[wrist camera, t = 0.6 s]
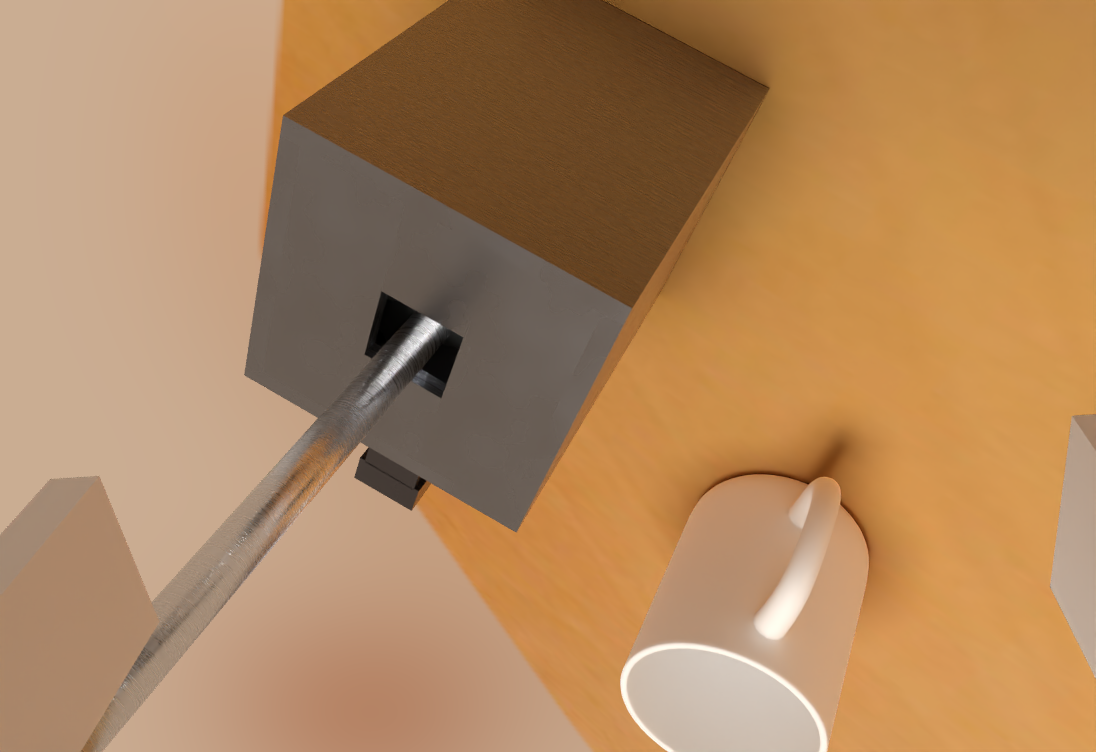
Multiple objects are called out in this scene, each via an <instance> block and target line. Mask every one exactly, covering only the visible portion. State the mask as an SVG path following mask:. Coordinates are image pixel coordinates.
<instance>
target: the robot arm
mask: <svg viewBox="0 0 1096 752" xmlns="http://www.w3.org/2000/svg"><path fill="white" fill-rule="evenodd" d="M1050 588H1051V590H1052V592H1053V594H1054V596H1055V598H1056V600H1057V602H1058V604H1059V606H1060V608H1061V610H1062V612H1063V614H1064V616H1065V618H1066V620H1067V622H1068V624H1069V626H1070V628H1071V630H1072V632H1073V634H1074V636H1075V638H1076V640H1077V642H1078V644H1079V646H1080V648H1081V650H1082V652H1083V654H1084V656H1085V658H1086V660H1087V662H1088V664H1089V666H1090V668H1091V670H1092V672H1093V674H1094V676H1095V678H1096V414H1093V415H1077V416H1072V420H1071V428H1070V436H1069V444H1068V451H1067V459H1066V467H1065V475H1064V482H1063V490H1062V498H1061V506H1060V514H1059V521H1058V529H1057V537H1056V545H1055V552H1054V560H1053V568H1052V576H1051V584H1050ZM158 623H159V620H158V617H157V615H156V612H155V610H154V608H153V605H152V603H151V601H150V598H149V595H148V593H147V591H146V588H145V586H144V583H143V581H142V579H141V576H140V574H139V572H138V569H137V566H136V564H135V562H134V559H133V557H132V554H131V552H130V550H129V547H128V545H127V542H126V540H125V537H124V535H123V533H122V530H121V528H120V525H119V523H118V520H117V518H116V516H115V513H114V511H113V508H112V506H111V503H110V501H109V499H108V496H107V494H106V491H105V489H104V486H103V484H102V482H101V479H100V477H99V476H93V477H77V478H61V479H50V480H49V481H48V482H47V483H46V484H45V486H44V487H43V488H42V489H41V490H40V491H39V492H38V493H37V494H36V496H35V497H34V498H33V499H32V500H31V501H30V502H29V503H28V505H27V506H26V507H25V508H24V509H23V510H22V511H21V512H20V513H19V515H18V516H17V517H16V518H15V519H14V520H13V521H12V523H11V524H10V525H9V526H8V527H7V528H6V529H5V530H4V531H3V532H2V534H1V535H0V752H81V750H82V749H83V747H84V745H85V744H86V742H87V740H88V739H89V737H90V736H91V734H92V732H93V731H94V729H95V727H96V726H97V724H98V722H99V721H100V719H101V717H102V716H103V714H104V712H105V711H106V709H107V707H108V706H109V704H110V702H111V701H112V699H113V698H114V696H115V694H116V693H117V691H118V689H119V688H120V686H121V684H122V683H123V681H124V679H125V678H126V676H127V674H128V673H129V671H130V669H131V668H132V666H133V665H134V663H135V661H136V660H137V658H138V656H139V655H140V653H141V651H142V650H143V648H144V646H145V645H146V643H147V641H148V640H149V638H150V636H151V635H152V633H153V632H154V630H155V628H156V627H157V625H158Z"/></svg>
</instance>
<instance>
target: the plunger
mask: <svg viewBox="0 0 1096 752" xmlns="http://www.w3.org/2000/svg"><path fill="white" fill-rule="evenodd" d="M463 338H464V337H462V336H460V335H458V334H456V333H455V332H453V331H451V330H449V329H448V328H446V327H444V326H442V325H441V324H439V323H437V322H435V321H433V320H432V319H430V318H428V317H426V316H425V315H423V314H421V313H419V312H417V311H416V310H414V309H412V308H410V307H409V306H407V305H405V304H403V303H402V302H400V301H398V300H396V299H394V298H393V297H391V296H389V295H388V298H387V301H386V305H385V308H384V312H383V316H382V319H381V323H380V327H379V330H378V334H377V337H376V341H375V343H376V344H378V345H379V346H381V347H382V348H381V349H380V350H379V351H378V353H377V354H376V355H375V356H374V357H373V358H372V359H371V360H370V361H369V363H368V364H367V365H366V366H365V367H364V368H363V369H362V370H361V371H360V372H359V374H358V375H357V376H356V377H355V378H354V379H353V380H352V381H351V382H350V384H349V385H348V386H347V387H346V388H345V389H344V390H343V391H342V392H341V393H340V395H339V396H338V397H337V398H336V399H335V400H334V401H333V402H332V403H331V405H330V406H329V407H328V408H327V409H326V410H325V411H324V412H323V413H322V415H321V416H320V417H319V418H318V419H317V420H316V421H315V422H314V423H313V424H312V426H311V427H310V428H309V429H308V430H307V431H306V432H305V434H304V435H303V436H302V437H301V438H300V439H299V440H298V441H297V442H296V443H295V445H294V446H293V447H292V448H291V449H290V450H289V451H288V452H287V453H286V454H285V455H284V457H283V458H282V459H281V460H280V461H279V462H278V463H277V464H276V465H275V466H274V468H273V469H272V470H271V471H270V472H269V473H268V474H267V475H266V476H265V478H264V479H263V480H262V481H261V482H260V483H259V484H258V485H257V487H256V488H255V489H254V490H253V491H252V492H251V493H250V494H249V495H248V496H247V498H246V499H245V500H244V501H243V502H242V503H241V504H240V505H239V507H238V508H237V509H236V510H235V511H234V512H233V513H232V514H231V515H230V516H229V517H228V519H227V520H226V521H225V522H224V523H223V524H222V525H221V526H220V527H219V528H218V530H217V531H216V532H215V533H214V534H213V535H212V536H211V537H210V538H209V540H208V541H207V542H206V543H205V544H204V545H203V546H202V547H201V548H200V549H199V551H198V552H197V553H196V554H195V555H194V556H193V557H192V559H190V561H189V562H188V563H187V564H186V565H185V566H184V567H183V568H182V570H180V572H179V573H178V574H177V575H176V576H175V577H174V578H173V579H172V581H171V582H170V583H169V584H168V585H167V586H166V587H165V589H163V590H162V592H161V593H160V594H159V595H158V596H157V597H156V598H155V599H154V600H153V602H152V605H153V608H154V610H155V612H156V615H157V617H158V620H159V623H158V625H157V627H156V628H155V630H154V632H153V633H152V635H151V636H150V638H149V640H148V641H147V643H146V645H145V646H144V648H143V650H142V651H141V653H140V655H139V656H138V658H137V660H136V661H135V663H134V665H133V666H132V668H131V669H130V671H129V673H128V674H127V676H126V678H125V679H124V681H123V683H122V684H121V686H120V688H119V689H118V691H117V693H116V694H115V696H114V698H113V699H112V701H111V702H110V704H109V706H108V707H107V709H106V711H105V712H104V714H103V716H102V717H101V719H100V721H99V722H98V724H97V726H96V727H95V729H94V731H93V732H92V734H91V736H90V737H89V739H88V740H87V742H86V744H85V745H84V747H83V749H82V750H81V752H102V751H103V750H104V749H105V748H106V747H107V746H108V744H109V743H110V742H111V741H112V739H113V738H114V737H115V736H116V735H117V734H118V732H119V731H120V730H121V729H122V728H123V726H124V725H125V724H126V723H127V722H128V720H129V719H130V718H131V717H132V715H133V714H134V713H135V712H136V711H137V710H138V708H139V707H140V706H141V705H142V704H143V702H144V701H145V700H146V699H147V698H148V696H149V695H150V694H151V693H152V691H153V690H154V689H155V688H156V687H157V686H158V684H159V683H160V682H161V681H162V680H163V678H164V677H165V676H166V675H167V673H168V672H169V671H170V670H171V669H172V667H173V666H174V665H175V664H176V663H177V662H178V660H179V659H180V658H181V657H182V656H183V654H184V653H185V652H186V651H187V650H188V648H189V647H190V646H191V645H192V643H193V642H194V641H195V640H196V639H197V638H198V636H199V635H200V634H201V633H202V632H203V630H204V629H205V628H206V627H207V626H208V624H209V623H210V622H211V621H212V620H213V618H214V617H215V616H216V615H217V614H218V612H219V611H220V610H221V609H222V608H223V606H224V605H225V604H226V603H227V601H228V600H229V599H230V598H231V597H232V595H233V594H234V593H235V592H236V591H237V590H238V588H239V587H240V586H241V585H242V584H243V582H244V581H245V580H246V579H247V577H248V576H249V575H250V574H251V573H252V572H253V570H254V569H255V568H256V567H257V565H258V564H259V563H260V562H261V561H262V559H263V558H264V557H265V556H266V555H267V553H268V552H269V551H270V550H271V549H272V547H273V546H274V545H275V544H276V543H277V542H278V540H279V539H280V538H281V537H282V536H283V534H284V533H285V532H286V531H287V530H288V528H289V527H290V526H291V525H292V524H293V522H294V521H295V520H296V519H297V517H298V516H299V515H300V514H301V513H302V512H303V510H304V509H305V508H306V506H308V504H309V503H310V502H311V501H312V499H313V498H314V497H315V496H316V495H317V493H318V492H319V491H320V490H321V489H322V487H323V486H324V485H325V484H326V483H327V482H328V480H329V479H330V478H331V477H332V476H333V474H334V473H335V472H336V471H337V469H338V468H339V467H340V466H341V465H342V464H343V462H344V461H345V460H346V458H347V457H348V456H349V455H350V454H351V453H352V451H353V450H354V449H355V448H356V447H357V446H358V444H359V443H360V442H361V441H362V440H363V438H364V437H365V436H366V435H367V434H368V432H369V431H370V430H371V429H372V428H373V426H374V425H375V424H376V423H377V421H378V420H379V419H380V418H381V417H382V415H383V414H384V413H385V412H386V411H387V409H388V408H389V407H390V406H391V405H392V403H393V402H394V401H395V400H396V399H397V397H398V396H399V395H400V394H401V393H402V391H403V390H404V389H405V388H406V387H407V385H408V384H409V383H410V382H411V381H412V379H413V378H414V377H415V376H416V375H417V373H418V372H419V371H420V370H421V369H422V370H423V371H425V372H427V373H429V374H430V375H432V376H434V377H436V378H437V379H439V380H441V381H443V382H444V383H446V384H447V382H448V379H449V376H450V373H451V371H452V368H453V365H454V362H455V360H456V357H457V354H458V351H459V349H460V346H461V343H462V340H463Z"/></svg>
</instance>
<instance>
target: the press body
mask: <svg viewBox="0 0 1096 752" xmlns="http://www.w3.org/2000/svg"><path fill="white" fill-rule="evenodd" d="M768 90H769V88H767V87H765V86H763V85H761V84H759V83H758V82H756V81H754V80H752V79H750V78H748V77H746V76H744V75H742V74H741V73H739V72H737V71H735V70H733V69H731V68H729V67H727V66H725V65H723V64H722V63H720V62H718V61H716V60H714V59H712V58H710V57H708V56H706V55H704V54H703V53H701V52H699V51H697V50H695V49H693V48H691V47H689V46H687V45H686V44H684V43H682V42H680V41H678V40H676V39H674V38H672V37H670V36H668V35H667V34H665V33H663V32H661V31H659V30H657V29H655V28H653V27H651V26H650V25H648V24H646V23H644V22H642V21H640V20H638V19H636V18H634V17H632V16H631V15H629V14H627V13H625V12H623V11H621V10H619V9H617V8H615V7H614V6H612V5H610V4H608V3H606V2H604V1H602V0H449V1H447V2H446V3H444V4H443V5H441V6H440V7H439V8H437V9H436V10H434V11H433V12H431V13H430V14H428V15H427V16H426V17H424V18H423V19H421V20H420V21H418V22H417V23H415V24H414V25H413V26H411V27H410V28H408V29H407V30H405V31H404V32H403V33H401V34H400V35H398V36H397V37H395V38H394V39H392V40H391V41H390V42H388V43H387V44H385V45H384V46H382V47H381V48H379V49H378V50H377V51H375V52H374V53H372V54H371V55H369V56H368V57H366V58H365V59H364V60H362V61H361V62H359V63H358V64H356V65H355V66H354V67H352V68H351V69H349V70H348V71H346V72H345V73H343V74H342V75H341V76H339V77H338V78H336V79H335V80H333V81H332V82H330V83H329V84H328V85H326V86H325V87H323V88H322V89H320V90H319V91H318V92H316V93H315V94H313V95H312V96H310V97H309V98H307V99H306V100H305V101H303V102H302V103H300V104H299V105H297V106H296V107H294V108H293V109H292V110H290V111H289V112H287V113H286V114H284V115H283V120H282V126H281V133H280V140H279V146H278V153H277V160H276V167H275V173H274V180H273V187H272V193H271V200H270V207H269V213H268V220H267V227H266V233H265V240H264V247H263V254H262V260H261V267H260V274H259V280H258V287H257V294H256V301H255V308H254V314H253V321H252V327H251V334H250V341H249V347H248V354H247V362H246V368H245V374H244V375H245V376H247V377H249V378H250V379H252V380H254V381H255V382H257V383H259V384H261V385H263V386H264V387H266V388H267V389H269V390H271V391H273V392H275V393H276V394H278V395H280V396H281V397H283V398H285V399H287V400H288V401H290V402H292V403H294V404H295V405H297V406H299V407H300V408H302V409H304V410H306V411H307V412H309V413H311V414H313V415H314V416H316V417H318V418H319V417H320V416H321V415H322V413H323V412H324V411H325V410H326V409H327V408H328V407H329V406H330V405H331V403H332V402H333V401H334V400H335V399H336V398H337V397H338V396H339V395H340V393H341V392H342V391H343V390H344V389H345V388H346V387H347V386H348V385H349V384H350V382H351V381H352V380H353V379H354V378H355V377H356V376H357V375H358V374H359V372H360V371H361V370H362V369H363V368H364V367H365V366H366V365H367V364H368V363H369V361H370V360H371V359H372V358H373V357H374V356H375V355H376V354H377V353H378V351H379V350H380V349H381V348H382V347H381V346H379V345H378V344H376V343H375V341H376V337H377V334H378V330H379V327H380V323H381V319H382V316H383V312H384V308H385V305H386V301H387V298H388V295H389V296H391V297H393V298H394V299H396V300H398V301H400V302H402V303H403V304H405V305H407V306H409V307H410V308H412V309H414V310H416V311H417V312H419V313H421V314H423V315H425V316H426V317H428V318H430V319H432V320H433V321H435V322H437V323H439V324H441V325H442V326H444V327H446V328H448V329H449V330H451V331H453V332H455V333H456V334H458V335H460V336H462V337H464V338H463V340H462V343H461V346H460V349H459V351H458V354H457V357H456V360H455V362H454V365H453V368H452V371H451V373H450V376H449V379H448V382H447V384H446V383H444V382H443V381H441V380H439V379H437V378H436V377H434V376H432V375H430V374H429V373H427V372H425V371H423V370H422V369H421V370H420V371H419V372H418V373H417V375H416V376H415V377H414V378H413V379H412V381H411V382H410V383H409V384H408V385H407V387H406V388H405V389H404V390H403V391H402V393H401V394H400V395H399V396H398V397H397V399H396V400H395V401H394V402H393V403H392V405H391V406H390V407H389V408H388V409H387V411H386V412H385V413H384V414H383V415H382V417H381V418H380V419H379V420H378V421H377V423H376V424H375V425H374V426H373V428H372V429H371V430H370V431H369V432H368V434H367V435H366V436H365V437H364V438H363V440H362V441H361V443H363V444H364V445H366V446H368V447H369V448H368V449H367V450H366V452H365V453H364V454H363V455H362V456H361V457H360V460H359V464H358V467H357V471H356V474H355V478H356V479H358V480H360V481H362V482H363V483H365V484H367V485H368V486H370V487H372V488H373V489H375V490H377V491H379V492H381V493H382V494H384V495H385V496H387V497H389V498H391V499H392V500H394V501H396V502H398V503H399V504H401V505H403V506H404V507H406V508H408V509H410V510H412V509H413V508H414V507H415V505H416V504H417V502H418V501H419V500H420V498H421V497H422V496H423V494H424V493H425V491H426V490H427V489H428V487H429V486H430V484H431V483H432V484H433V485H435V486H437V487H439V488H440V489H442V490H444V491H445V492H447V493H449V494H451V495H452V496H454V497H456V498H458V499H459V500H461V501H463V502H464V503H466V504H468V505H470V506H471V507H473V508H475V509H477V510H478V511H480V512H482V513H483V514H485V515H487V516H489V517H490V518H492V519H494V520H496V521H497V522H499V523H501V524H502V525H504V526H506V527H508V528H509V529H511V530H513V531H515V532H517V530H518V529H519V527H520V525H521V524H522V522H523V520H524V519H525V517H526V515H527V514H528V512H529V510H530V509H531V507H532V506H533V504H534V502H535V501H536V499H537V497H538V496H539V494H540V492H541V491H542V489H543V487H544V486H545V484H546V482H547V481H548V479H549V477H550V476H551V474H552V472H553V471H554V469H555V467H556V466H557V464H558V462H559V461H560V459H561V457H562V456H563V454H564V452H565V451H566V449H567V447H568V446H569V444H570V442H571V441H572V439H573V437H574V436H575V434H576V432H577V431H578V429H579V427H580V426H581V424H582V422H583V421H584V419H585V417H586V416H587V414H588V412H589V411H590V409H591V407H592V406H593V404H594V402H595V401H596V399H597V397H598V396H599V394H600V392H601V391H602V389H603V387H604V386H605V384H606V382H607V381H608V379H609V377H610V376H611V374H612V372H613V371H614V369H615V367H616V366H617V364H618V362H619V361H620V359H621V357H622V356H623V354H624V352H625V351H626V349H627V347H628V346H629V344H630V342H631V341H632V339H633V337H634V336H635V334H636V332H637V331H638V329H639V327H640V326H641V324H642V322H643V321H644V319H645V317H646V316H647V314H648V312H649V311H650V309H651V307H652V306H653V304H654V302H655V301H656V299H657V297H658V296H659V294H660V292H661V290H662V288H663V286H664V284H665V282H666V281H667V279H668V277H669V275H670V273H671V271H672V269H673V268H674V266H675V264H676V262H677V260H678V258H679V256H680V255H681V253H682V251H683V249H684V247H685V245H686V243H687V241H688V240H689V238H690V236H691V234H692V232H693V230H694V228H695V227H696V225H697V223H698V221H699V219H700V217H701V215H702V214H703V212H704V210H705V208H706V206H707V204H708V202H709V200H710V199H711V197H712V195H713V193H714V191H715V189H716V187H717V186H718V184H719V182H720V180H721V178H722V176H723V174H724V172H725V171H726V169H727V167H728V165H729V163H730V161H731V159H732V158H733V156H734V154H735V152H736V150H737V148H738V146H739V145H740V143H741V141H742V139H743V137H744V135H745V133H746V131H747V130H748V128H749V126H750V124H751V122H752V120H753V118H754V117H755V115H756V113H757V111H758V109H759V107H760V105H761V104H762V102H763V100H764V98H765V96H766V94H767V92H768Z"/></svg>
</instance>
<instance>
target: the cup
mask: <svg viewBox="0 0 1096 752" xmlns="http://www.w3.org/2000/svg"><path fill="white" fill-rule="evenodd" d="M840 501H841V490H840V486H839V485H838V483H837V482H836V481H835V480H834V479H832V478H829V477H819V478H817V479H815V480H814V481H812V482H811V483H810V484H809V485H808V484H806V483H803V482H800V481H798V480H794V479H791V478H787V477H782V476H777V475H767V474H753V475H744V476H739V477H736V478H732V479H729V480H727V481H724V482H722V483H720V484H718V485H716V486H715V487H713V488H712V489H710V490H709V491H708V492H707V493H705V494H704V495H703V496H702V498H701V499H700V500H699V501H698V503H697V504H696V506H695V507H694V509H693V510H692V512H691V514H690V516H689V518H688V521H687V523H686V525H685V527H684V530H683V532H682V534H681V537H680V539H679V541H678V544H677V546H676V548H675V550H674V553H673V555H672V557H671V560H670V562H669V564H668V567H667V569H666V571H665V574H664V576H663V578H662V580H661V583H660V585H659V587H658V590H657V592H656V594H655V597H654V599H653V601H652V604H651V606H650V608H649V610H648V613H647V615H646V617H645V620H644V622H643V624H642V627H641V629H640V631H639V634H638V636H637V638H636V640H635V643H634V645H633V647H632V650H631V652H630V654H629V657H628V659H627V661H626V664H625V666H624V668H623V670H622V674H621V680H620V685H621V693H622V697H623V700H624V703H625V705H626V707H627V709H628V711H629V713H630V714H631V716H632V717H633V719H634V720H635V722H636V723H637V724H638V725H639V726H640V728H641V729H642V730H643V731H644V732H645V733H646V734H647V735H648V736H649V737H650V738H651V739H652V740H654V741H655V742H656V743H657V744H658V745H660V746H661V747H662V748H664V749H665V750H667V751H668V752H827V750H828V745H829V741H830V737H831V733H832V728H833V724H834V720H835V716H836V711H837V707H838V703H839V699H840V694H841V690H842V686H843V682H844V677H845V673H846V669H847V665H848V660H849V656H850V652H851V648H852V643H853V639H854V635H855V631H856V626H857V622H858V618H859V614H860V609H861V605H862V601H863V597H864V592H865V588H866V583H867V577H868V571H869V554H868V549H867V545H866V542H865V539H864V536H863V534H862V532H861V530H860V528H859V527H858V525H857V524H856V522H855V521H854V519H853V518H852V517H851V515H850V514H849V513H848V512H847V511H846V510H845V509H844V508H843V507H842V506H841V505H840Z"/></svg>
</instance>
